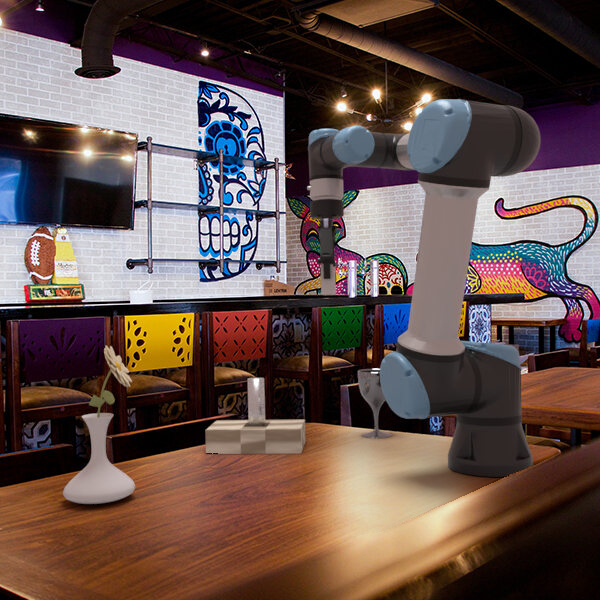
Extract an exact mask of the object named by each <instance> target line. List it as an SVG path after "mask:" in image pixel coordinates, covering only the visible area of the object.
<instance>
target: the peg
mask: <svg viewBox="0 0 600 600" xmlns="http://www.w3.org/2000/svg"><path fill="white" fill-rule="evenodd" d="M265 394H266V393H265V378H264V377H249V378H247V408H248V410H247V411H248V412H247V413H248V415H247V416H248V420H249V427H265V420H266V396H265Z"/></svg>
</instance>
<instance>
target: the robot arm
mask: <svg viewBox="0 0 600 600" xmlns="http://www.w3.org/2000/svg"><path fill="white" fill-rule="evenodd" d="M540 132H541V131H540V129H539V126H538V124H537V123H536V120H534V118H533V117H532V116H531V115H530V114H529V113H527V112H526V111H524V110H523V109H521V108H518V107H515V106H512V105H506V104H505V105H504V104H503V105H501V104H494V103H488V102H479V101H474V100H467V99H460V98H458V99H451V98H449V99H445V98H444V99H443V98H442V99H437V100H433V101H432V102H429V103H427V105H426V106H425V107H424V108H423V109H422V110H421V112H420V113H418V114H417V116H416V118H415V120H414V121H413V122H412V125H411V128H410V131H409V132H408V133H407V132H406V133H387V132H386V133H383V132H375V131H370V130H368V129H367V128H366V127H364V126H362V125H353V126H349V127H347V126H346V127H345V128H342V129H340V130H339V129H335V128H319V129H314V130H312V131H311V132H310V133H309V134H308V135H309V136H308V146H307V151H308V152H307V153H308V172H309V177H308V178H309V185H307V186H306V189H307V191H309V198H310V200H312V201H310V203H309V214H310V218H311V219H315V220H319V224H320V225H318V226H317V229H318V230H317V232H318V240H319V241H318V242H319V244H320V245H319V246H320V247H319V249H320V254H319V259H317V260H316V261H317V262H316V263H317V265H320V288H321V289H320V293H321V294H320V295H321V296H322V295H323V296H336V295H337V288H336V286H337V285H336V280H337V279H336V267H337V268H338V267H339V262H336V259H335V258H336V257H335V244H336V243H337V242H336V238H337V237H336V235H337V225H336V224H335V225H334V224H333V220H335V219H340V218H343V217H344V213H345V212H344V201H343V200H342V199H344V197H345V196H344V178H343V176H344V175H343V170H344V169H345V168H351V167H357V168H358V167H359V168H369V169H370V168H371V169H373V168H374V169H386V170H387V169H390V170H400V171H416V172H418V177H417V183H418V184H419V186H420V187H421V188H422V189H423V191H424V193H425V196H424V204H423V212H422V217H421V218H422V219H421V226H420V234H419V236H420V237H419V243H418V250H417V257H416V263H415V264H416V266H415V273H414V280H413V289H412V295H411V304H410V310H409V311H410V312H409V317H408V318H409V319H408V326H407V330H406V331H404V332H403V333H402V334H400V335H399V336H398V337H397V342H396V351H392V352H390V353H388V354H386V355H385V356H384V358H383V359H382V361H381V364H380V368H379V369H380V383H381V388H382V391H383V395H384V396H385V399H386V400H385V402H386V403H387V404H388V407H389V408H390V410H391V411H392V412H393V413H394V414H396V415H397V416H398V417H400V418H404V419H407V420H408V419H409V420H411V419H419V420H426V419H427V418H436V417H445V416H446V417H447V416H454V415H456V427H455V429H454V433H453V436H452V440H451V443H450V446H449V449H448V453H447V466H448V468H449V470H452V471H454V472H457V473H459V474H460V473H461V474H465V475H470V476H477V477H493V478H495V477H498V478H500V477H508V476H507V475H510V474H513V473H516V472H519V471H521V470H524V469H526V468H528V467H530V466H532V465H533V466H534V463H533V461H534V460H533V459H534V458H533V454H532V451H531V449H530V446H529V444H528V440H527V438H526V435H525V431H524V429H523V425H522V424H523V423H522V422H523V421H522V415H523V414H522V369H523V368H522V366H521V358H520V352H519V350H518V349H517V348H516V347H515V346H513V345H510V344H502V343H493V342H492V343H489V342H481V341H480V342H479V341H470V340H469V341H468V340H460V338H459V329H460V324H461V315H462V311H463V304H464V303H463V302H464V296H465V289H466V283H467V276H468V269H469V263H470V255H471V248H472V243H473V242H472V241H473V235H474V230H475V229H474V228H475V222H476V215H477V209H478V203H479V198H481V196H483V195H484V194H485V193H486V192H487V191H489V190H490V185H491V181H492V180H491V179H492V177H494V178H495V177H502V178H503V177H509V176H514V175H517V174H519V173H521V172H523V171H524V170H526V169H528V168H529V167H530V166H531V165H532V163H533V162H534V161H535V160H536V157H537V156H538V153H539V152H540V147H541V133H540Z"/></svg>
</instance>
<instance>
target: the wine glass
mask: <svg viewBox="0 0 600 600" xmlns="http://www.w3.org/2000/svg"><path fill="white" fill-rule="evenodd" d="M357 379H358V381H357V383H358V388H359V392H360V394H361V397H363V399H364V400H365V401H366V402H367V403H368V405H369V407H370V408H371V410H372V412H373V413H372V415H373V420H374V429H373V430H372V431H369V432H368V431H367V432H364V433H361V434H360V435H361V437H363V438H367V437H368V439H384V438H385V439H386V438H391V437H392V436H393V434H392V433H390V432H385V431H381V430H380V429H379V413H380V409H381V407H382V405H383V404H384V402H386V399H385V396H384V395H383V391H382V388H381V383H380V368H365V369H359V370H357Z"/></svg>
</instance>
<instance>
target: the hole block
mask: <svg viewBox="0 0 600 600" xmlns="http://www.w3.org/2000/svg"><path fill="white" fill-rule="evenodd" d="M204 431H205V433H204V434H205V454H206V453H212V454H211V455H214V454H213V453H218V454H217V455H239V454H240V455H246V454H247V455H248V454H250V455H251V454H252V455H256V454H257V455H261V454H262V455H263V454H264V455H267V454H270V455H271V454H272V455H273V454H274V455H275V454H279V455H280V454H281V455H282V454H283V455H284V454H285V455H286V454H302V452H303V449H304V448H305V444H306V419H304V418H303V419H300V418H299V419H297V418H296V419H294V418H293V419H265V427H249V419H220V420H219V419H218V420H215V421H214V422H213V423H211V424H210V426H208V427H207V428H206V429H205V430H204Z"/></svg>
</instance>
